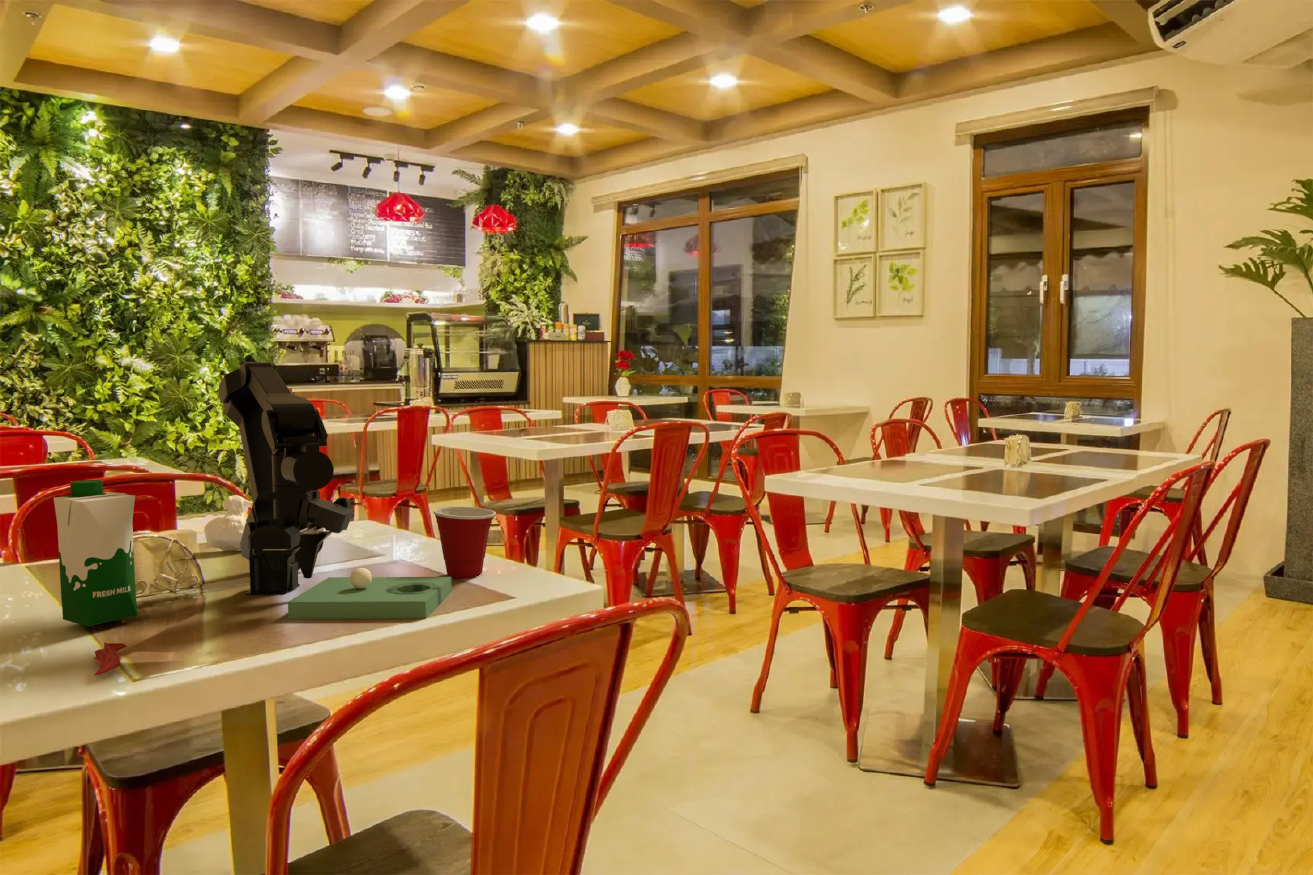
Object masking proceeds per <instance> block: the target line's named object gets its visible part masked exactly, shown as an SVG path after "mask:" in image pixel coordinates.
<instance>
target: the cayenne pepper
mask: <svg viewBox="0 0 1313 875" xmlns="http://www.w3.org/2000/svg"><path fill="white" fill-rule="evenodd" d="M127 647H128V645H126V643H119V642H117V643H114V642H113V643H111V642H110V643H108V642H104V643H103V648H102V649H97V650H95V651H94V655H95V656H94V658H93V659H94V661H96V662H97V663H98V664H99V666H98V669H97V671H95V673H94V674H93V676H99V675H103V674H106V673H109V672H112V671H114V670H115V669H118V667H120V665H121V655H120V654H119V653H118V651H120V650H122V649H125V648H127Z"/></svg>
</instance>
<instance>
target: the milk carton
mask: <svg viewBox="0 0 1313 875" xmlns="http://www.w3.org/2000/svg"><path fill="white" fill-rule="evenodd" d="M103 482H104V481H103V480H102V479H86V480H85V479H84V480H75V481H70V482H69V483H70V485H69V486H70V495H62V496H58V497H53V503H54V510H55V518H56V524H57V538H58V539H57V540H58V541H57V543H58V545H57V546H58V560H59V564H58V566H59V580H60V584H59V585H60V596H61V608H62V609H61V611H62V612H61V613H62V620H64V621H65V622H70V623H73V624H77V625H82V626H85V627H87V628H88V627H92V626H96V625H100V624H105V623H109V622H112V621H113V622H114V621H118V620H119V621H120V620H123V619H128V618H131V617H137V616H138V604H137V601H138V600H137V594H136V593H137V591H136V590H137V588H136V578H135V577H136V575H135V574H136V573H135V552H134V548H135V547H134V531H133V528H134V527H133V526H134V525H133V520H134V519H133V517H134V509H135V502H136V500H135V499H136V495H132V494H127V493H125V492H121V493H120V492H114V491H113V492H112V491H111V492H109V491H107V492H106V491H105V492H104V483H103Z"/></svg>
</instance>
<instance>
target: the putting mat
mask: <svg viewBox="0 0 1313 875" xmlns="http://www.w3.org/2000/svg"><path fill="white" fill-rule="evenodd" d="M451 593H452V578H451V577H448V576H372V581H371V583H370V585H369V586H368V587H366V588H364V589H357V588H355V587H354V586H353V585H352V584H351V582H350V576H347V577H343V576H342V577H341V576H340V577H339V576H335V577H334V576H333V577H330V576H329V577H327V578H325V579H323V580H322V581H320V582H318V583H317V584H316V585H314V586H312V587H310V588H309V589H307V590H305V591H304V592H302V593H299V595H297V596H295V597H293V598H292V599H290V600H289V601H288V602H287V614H288V615H287V617H288V620H313V619H317V620H320V619H321V620H324V619H325V620H326V619H327V620H330V619H331V620H332V619H333V620H338V619H339V620H340V619H341V620H342V619H345V620H346V619H348V620H349V619H351V620H352V619H353V620H354V619H357V620H359V619H360V620H361V619H362V620H364V619H365V620H367V619H371V620H372V619H375V620H377V619H379V620H380V619H381V620H382V619H427V618H428V617H429V616H430V615H431V614H432V613H433V612H434V611H435V610H436V609H437V607H439V606H440V605H441V603H442V602H444V601H445V600H446V598H447V597H448V596H449V595H450V594H451Z"/></svg>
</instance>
